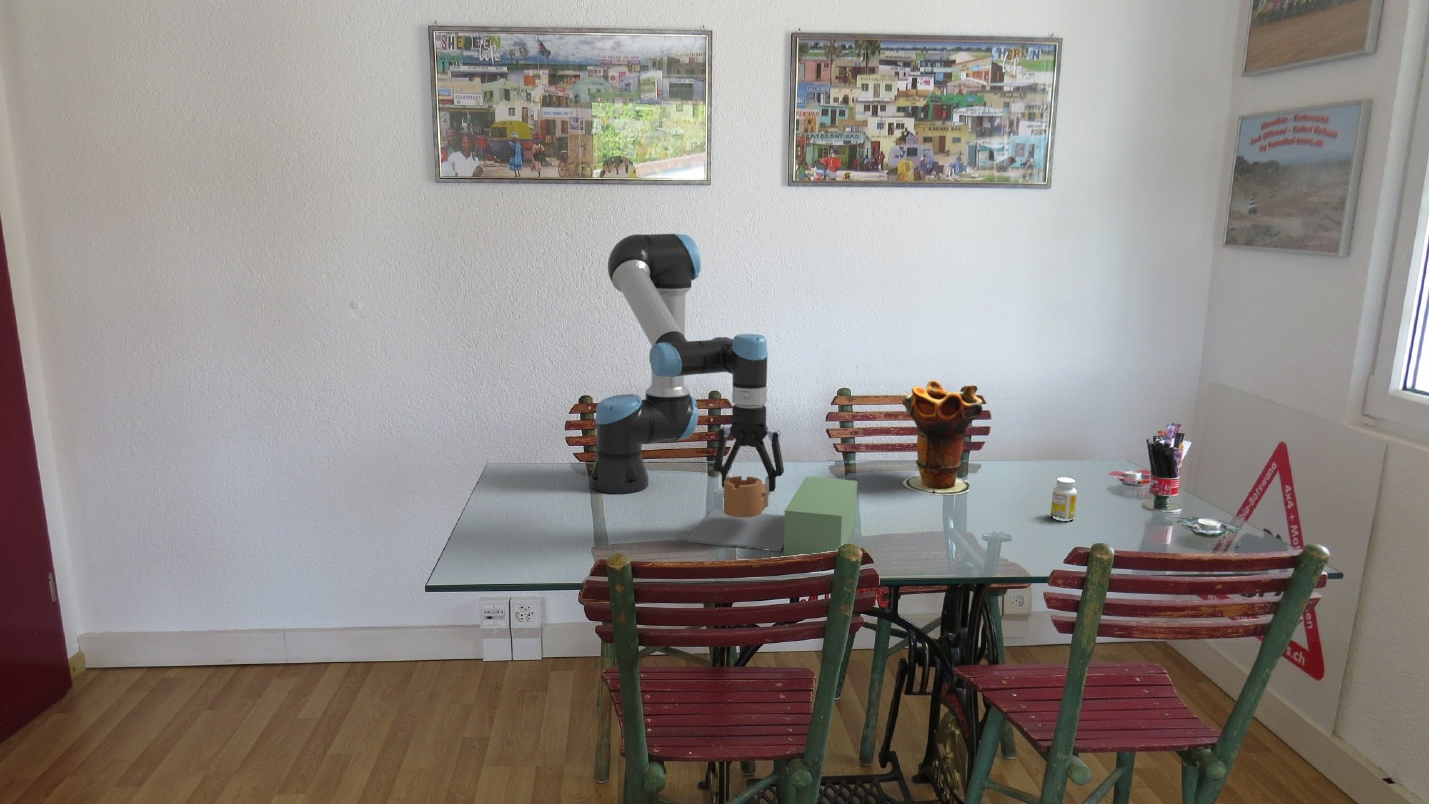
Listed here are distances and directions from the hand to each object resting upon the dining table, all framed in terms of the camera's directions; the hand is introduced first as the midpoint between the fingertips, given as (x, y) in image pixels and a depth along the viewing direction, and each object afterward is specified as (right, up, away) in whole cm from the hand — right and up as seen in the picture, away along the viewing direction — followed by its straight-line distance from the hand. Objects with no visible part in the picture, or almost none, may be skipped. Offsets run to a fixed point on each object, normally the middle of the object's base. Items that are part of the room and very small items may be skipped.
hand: (748, 503), depth 217 cm
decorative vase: (+51, +1, +38) cm, 64 cm away
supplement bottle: (+75, -5, +12) cm, 76 cm away
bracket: (0, -1, 0) cm, 1 cm away
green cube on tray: (+6, -7, 0) cm, 9 cm away
